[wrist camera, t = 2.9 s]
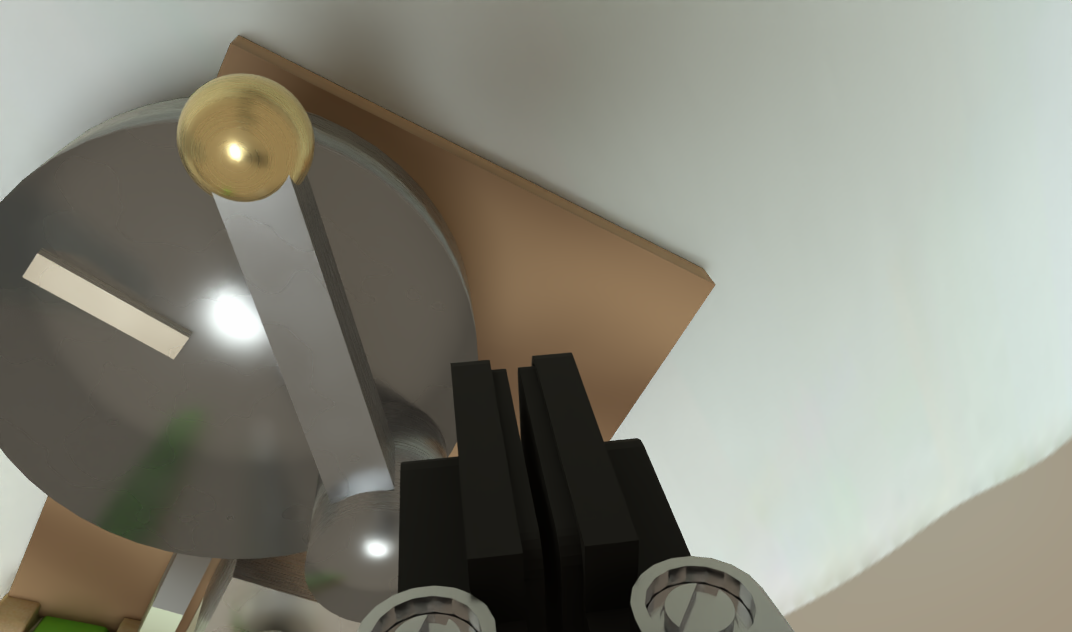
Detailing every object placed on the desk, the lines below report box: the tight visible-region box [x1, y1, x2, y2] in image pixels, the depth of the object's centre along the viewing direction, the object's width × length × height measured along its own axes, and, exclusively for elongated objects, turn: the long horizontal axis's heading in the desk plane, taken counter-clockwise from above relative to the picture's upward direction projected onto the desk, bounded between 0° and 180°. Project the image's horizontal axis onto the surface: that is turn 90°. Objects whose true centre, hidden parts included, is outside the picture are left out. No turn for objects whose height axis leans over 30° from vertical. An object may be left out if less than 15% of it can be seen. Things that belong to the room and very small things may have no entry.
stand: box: [8, 36, 715, 632], centre depth 27 cm, size 23×15×5 cm, turn 151°
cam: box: [0, 73, 478, 623], centre depth 21 cm, size 12×13×8 cm
